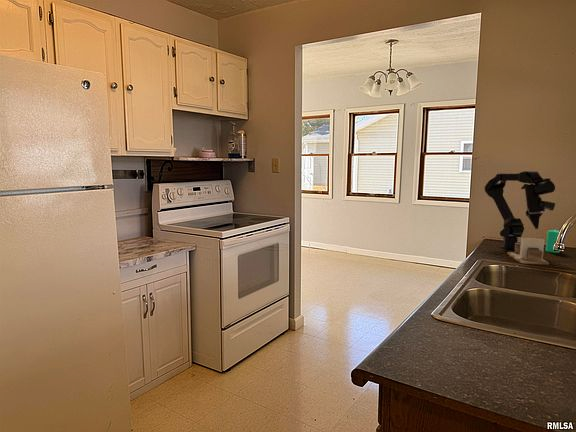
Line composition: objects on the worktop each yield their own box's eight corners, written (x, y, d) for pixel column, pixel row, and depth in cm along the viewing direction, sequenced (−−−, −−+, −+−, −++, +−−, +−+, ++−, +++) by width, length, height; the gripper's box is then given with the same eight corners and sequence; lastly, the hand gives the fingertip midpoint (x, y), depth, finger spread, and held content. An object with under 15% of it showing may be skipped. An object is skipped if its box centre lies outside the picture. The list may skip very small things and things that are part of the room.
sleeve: (519, 257, 180) (521, 237, 178) (540, 258, 178) (542, 238, 177) (522, 258, 177) (524, 239, 175) (543, 259, 175) (545, 240, 174)
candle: (555, 250, 202) (558, 227, 200) (562, 252, 196) (565, 229, 194) (543, 249, 202) (545, 226, 201) (549, 252, 196) (552, 228, 195)
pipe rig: (507, 253, 192) (508, 242, 191) (532, 255, 190) (533, 243, 189) (521, 263, 174) (522, 250, 173) (548, 264, 172) (550, 251, 171)
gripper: (555, 191, 177) (560, 226, 175) (549, 197, 194) (553, 228, 192) (527, 194, 182) (531, 228, 180) (523, 200, 199) (527, 230, 197)
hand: (536, 228), depth 187 cm, fingers closed
